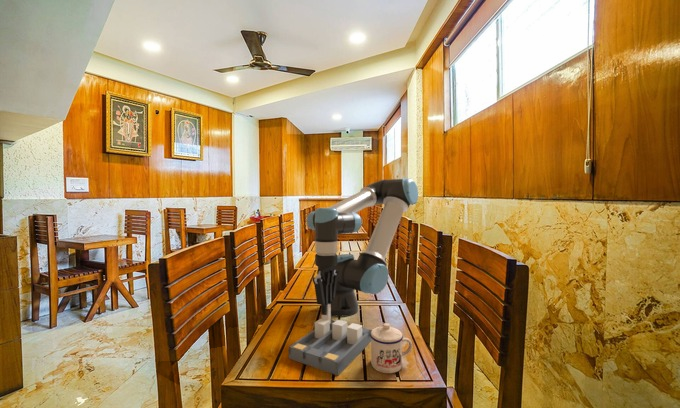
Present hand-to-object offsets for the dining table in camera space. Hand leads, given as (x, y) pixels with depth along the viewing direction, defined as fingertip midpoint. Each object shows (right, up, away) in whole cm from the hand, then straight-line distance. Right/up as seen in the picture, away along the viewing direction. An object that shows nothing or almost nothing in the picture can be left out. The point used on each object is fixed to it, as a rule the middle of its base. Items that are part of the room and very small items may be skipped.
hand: (326, 323), depth 99 cm
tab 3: (+9, -4, -6) cm, 12 cm away
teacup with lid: (+19, -6, -16) cm, 26 cm away
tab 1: (-1, -4, -2) cm, 4 cm away
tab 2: (+5, -4, -3) cm, 7 cm away
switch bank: (+2, -5, -7) cm, 9 cm away
